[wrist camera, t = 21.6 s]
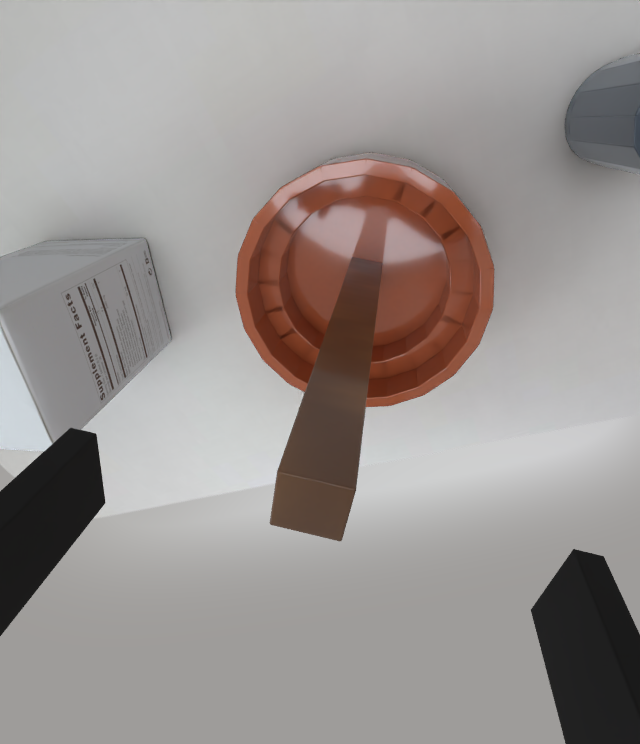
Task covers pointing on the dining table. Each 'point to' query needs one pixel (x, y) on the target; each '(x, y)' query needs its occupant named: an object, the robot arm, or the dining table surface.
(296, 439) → the stirring stick
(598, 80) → the gray pipe section
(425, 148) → the dining table surface
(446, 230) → the bowl
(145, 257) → the rectangular carton
